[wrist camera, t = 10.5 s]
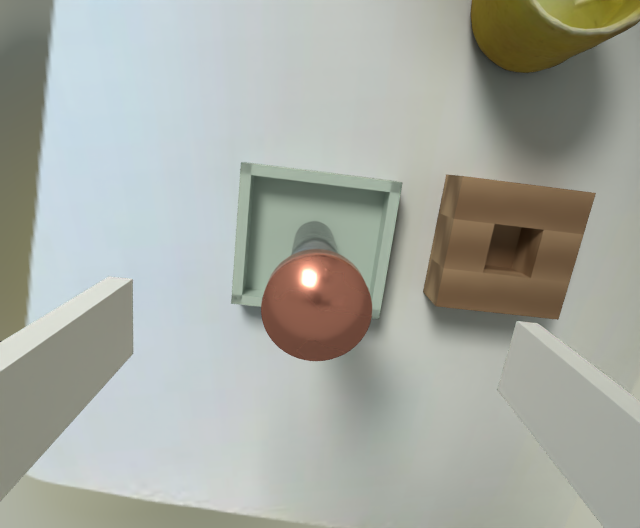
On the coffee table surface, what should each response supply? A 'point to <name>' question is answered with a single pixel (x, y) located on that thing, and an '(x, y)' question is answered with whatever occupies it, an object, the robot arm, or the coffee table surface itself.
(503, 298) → the socket block
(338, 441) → the coffee table surface
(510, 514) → the coffee table surface
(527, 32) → the mug
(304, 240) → the pin
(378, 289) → the tray
